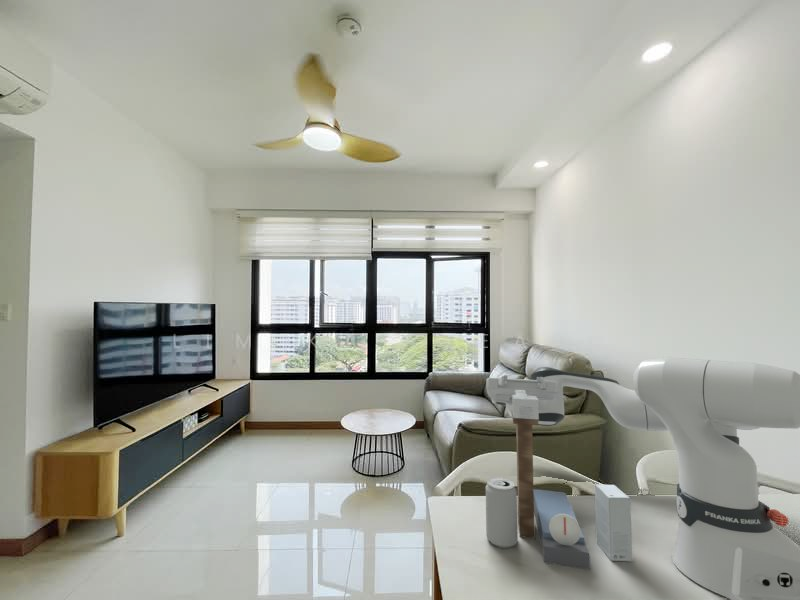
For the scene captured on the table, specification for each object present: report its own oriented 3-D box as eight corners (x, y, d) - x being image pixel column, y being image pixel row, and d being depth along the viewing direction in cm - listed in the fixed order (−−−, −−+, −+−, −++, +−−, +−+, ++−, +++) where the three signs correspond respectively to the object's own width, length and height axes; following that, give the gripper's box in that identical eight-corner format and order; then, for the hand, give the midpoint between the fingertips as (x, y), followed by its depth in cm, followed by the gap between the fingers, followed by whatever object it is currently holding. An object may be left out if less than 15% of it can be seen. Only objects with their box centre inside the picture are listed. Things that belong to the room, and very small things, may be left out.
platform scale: (566, 509, 88) (566, 472, 88) (589, 569, 67) (588, 521, 67) (532, 505, 90) (531, 469, 90) (544, 562, 69) (543, 515, 69)
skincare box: (633, 562, 69) (631, 498, 69) (610, 561, 69) (608, 497, 70) (616, 542, 75) (614, 484, 75) (595, 541, 75) (593, 483, 76)
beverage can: (519, 552, 72) (518, 490, 72) (486, 548, 73) (486, 487, 74) (515, 533, 78) (514, 477, 79) (485, 530, 79) (484, 474, 80)
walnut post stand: (536, 522, 82) (533, 408, 84) (540, 546, 74) (538, 418, 75) (513, 519, 84) (511, 406, 85) (515, 542, 75) (513, 416, 76)
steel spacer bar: (530, 400, 92) (529, 384, 92) (538, 419, 74) (538, 400, 74) (509, 399, 93) (509, 383, 93) (513, 417, 75) (513, 398, 76)
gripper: (557, 407, 107) (563, 391, 96) (487, 402, 113) (485, 387, 102) (555, 387, 111) (561, 369, 100) (487, 383, 116) (485, 366, 105)
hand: (522, 378), depth 101 cm, fingers open, 8 cm apart
